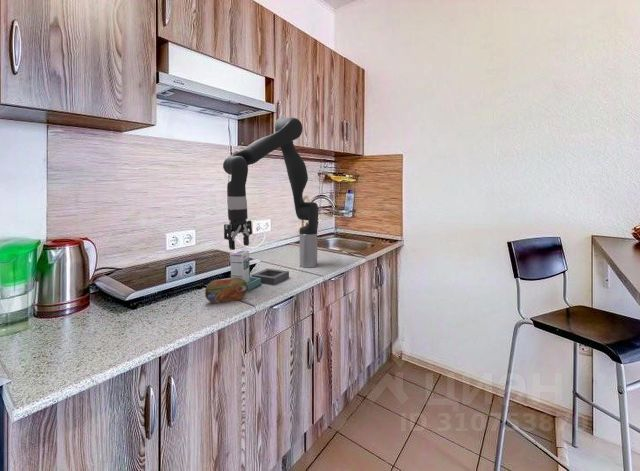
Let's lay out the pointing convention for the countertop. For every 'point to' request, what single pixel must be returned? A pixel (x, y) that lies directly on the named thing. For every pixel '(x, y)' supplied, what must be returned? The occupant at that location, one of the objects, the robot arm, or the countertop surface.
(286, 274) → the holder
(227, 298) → the tin
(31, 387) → the countertop surface
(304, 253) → the robot arm
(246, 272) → the syrup box
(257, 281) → the parts tray
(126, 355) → the countertop surface
